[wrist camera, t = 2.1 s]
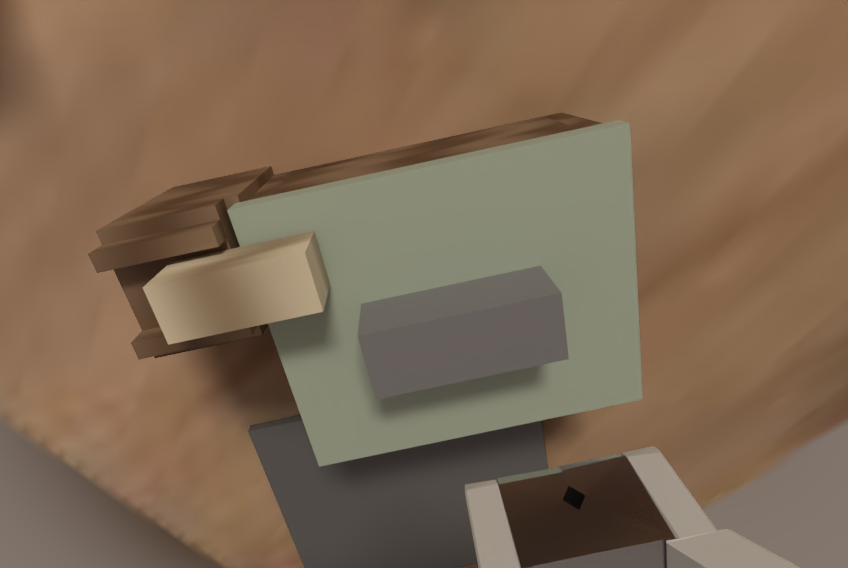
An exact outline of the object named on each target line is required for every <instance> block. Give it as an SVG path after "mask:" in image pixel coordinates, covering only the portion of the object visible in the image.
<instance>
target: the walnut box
mask: <svg viewBox="0 0 848 568" xmlns="http://www.w3.org/2000/svg"><path fill="white" fill-rule="evenodd" d="M598 124H603V123H599V122H595V121H591V120H588V119H584V118H580V117H576V116H572V115H569V114H565V113H558V114H553V115H549V116H544V117H540V118H535V119H530V120H526V121H521V122H517V123H512V124H507V125H503V126H498V127H494V128H489V129H484V130H480V131H475V132H471V133H466V134H461V135H457V136H452V137H448V138H443V139H438V140H434V141H429V142H425V143H420V144H415V145H411V146H406V147H402V148H397V149H392V150H388V151H383V152H379V153H374V154H369V155H365V156H360V157H356V158H351V159H346V160H342V161H337V162H333V163H328V164H323V165H319V166H314V167H310V168H305V169H300V170H296V171H291V172H287V173H282V174H277V175H274V174H273V171H272V168H271V166H270V167H265V168H261V169H256V170H251V171H247V172H242V173H238V174H233V175H228V176H224V177H219V178H215V179H210V180H205V181H201V182H196V183H192V184H187V185H182V186H178V187H173V188H171V189H169V190H168V191H166V192H164V193H162V194H160V195H159V196H157V197H155V198H153V199H152V200H150V201H148V202H146V203H145V204H143V205H141V206H139V207H138V208H136V209H134V210H132V211H130V212H129V213H127V214H125V215H123V216H122V217H120V218H118V219H116V220H115V221H113V222H111V223H109V224H108V225H106V226H104V227H102V228H100V229H99V230H97V231H96V233H97V235H98V237H99V239H100V241H101V243H102V246H100V247H98V248H97V249H95V250H94V251H92V252H91V253H89V254H88V255H89V257H90V259H91V261H92V263H93V265H94V267H95V270H96V272H97V273H99V272H104V271H108V270H113V269H114V271H115V273H116V276H117V278H118V280H119V282H120V284H121V286H122V288H123V290H124V293H125V295H126V297H127V299H128V301H129V303H130V305H131V308H132V310H133V312H134V314H135V316H136V318H137V320H138V323H139V325H140V327H141V329H142V332H141V333H140V334H139V335H138V336H137V337H136V338H135V339H134V340H133V341H132V343H131V344H132V346H133V348H134V350H135V352H136V354H137V357H138V359H143V358H148V357H152V356H154V357H155V358H158V357H163V356H167V355H172V354H177V353H181V352H186V351H191V350H195V349H200V348H205V347H210V346H214V345H219V344H224V343H228V342H233V341H238V340H243V339H247V338H252V337H257V336H261V335H263V333H264V331H265V329H266V326H267V324H263V325H259V326H254V327H249V328H244V329H240V330H235V331H230V332H226V333H221V334H216V335H212V336H207V337H202V338H197V339H193V340H188V341H183V342H179V343H174V344H169V345H168V343H167V341H166V339H165V336H164V334H163V332H162V330H161V328H160V325H159V323H158V321H157V319H156V316H155V314H154V312H153V310H152V308H151V305H150V303H149V301H148V299H147V297H146V294H145V292H144V290H143V287H144V286H145V285H146V284H147V283H148V282H149V281H150V280H151V279H153V278H154V277H155V276H156V275H157V274H158V273H159V272H160V271H161V270H163V269H164V268H165V267H166V266H167V265H168V264H169V263H170V262H173V261H178V260H182V259H187V258H191V257H196V256H201V255H205V254H210V253H215V252H219V251H224V250H229V249H233V248H238V247H240V245H239V242H238V239H237V237H236V234H235V231H234V228H233V226H232V223H231V220H230V217H229V214H228V212H227V210H228V209H229V208H230V207H231V206H233V205H234V204H235V203H239V202H243V201H248V200H252V199H257V198H262V197H266V196H271V195H275V194H280V193H285V192H289V191H294V190H299V189H303V188H308V187H312V186H317V185H322V184H326V183H331V182H335V181H340V180H345V179H349V178H354V177H359V176H363V175H368V174H372V173H377V172H382V171H386V170H391V169H395V168H400V167H405V166H409V165H414V164H418V163H423V162H428V161H432V160H437V159H442V158H446V157H451V156H455V155H460V154H465V153H469V152H474V151H478V150H483V149H488V148H492V147H497V146H501V145H506V144H511V143H515V142H520V141H525V140H529V139H534V138H538V137H543V136H548V135H552V134H557V133H561V132H566V131H571V130H575V129H580V128H585V127H589V126H594V125H598Z"/></svg>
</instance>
